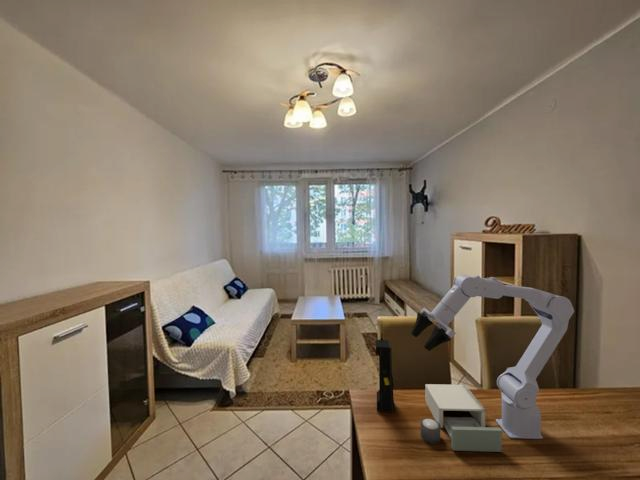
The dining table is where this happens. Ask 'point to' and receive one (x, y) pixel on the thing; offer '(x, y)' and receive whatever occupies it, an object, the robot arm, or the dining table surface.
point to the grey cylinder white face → (430, 430)
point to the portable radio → (385, 376)
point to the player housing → (452, 401)
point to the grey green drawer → (472, 435)
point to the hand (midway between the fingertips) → (419, 341)
